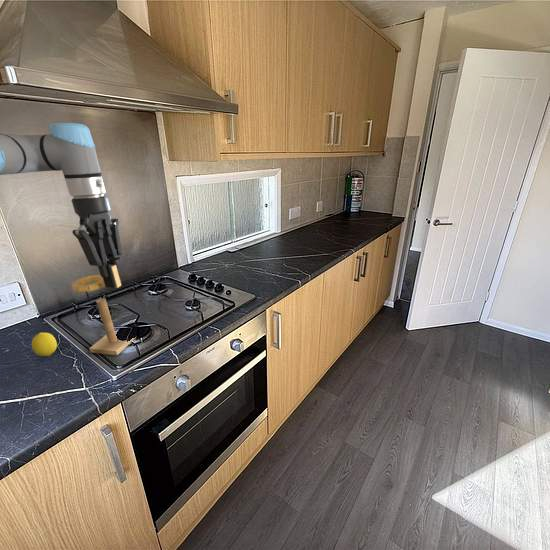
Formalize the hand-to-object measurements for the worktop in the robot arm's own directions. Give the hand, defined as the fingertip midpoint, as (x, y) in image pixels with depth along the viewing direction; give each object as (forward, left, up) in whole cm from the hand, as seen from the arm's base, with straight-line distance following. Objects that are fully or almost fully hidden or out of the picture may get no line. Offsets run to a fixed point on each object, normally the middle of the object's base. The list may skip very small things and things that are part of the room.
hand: (113, 285), depth 79 cm
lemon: (-23, -6, -22) cm, 32 cm away
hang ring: (-5, 0, 0) cm, 5 cm away
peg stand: (-7, +1, -21) cm, 23 cm away
